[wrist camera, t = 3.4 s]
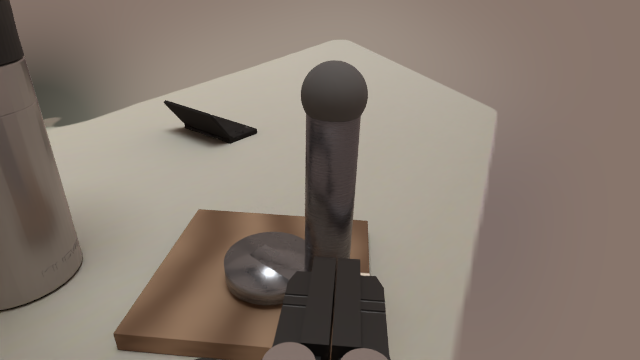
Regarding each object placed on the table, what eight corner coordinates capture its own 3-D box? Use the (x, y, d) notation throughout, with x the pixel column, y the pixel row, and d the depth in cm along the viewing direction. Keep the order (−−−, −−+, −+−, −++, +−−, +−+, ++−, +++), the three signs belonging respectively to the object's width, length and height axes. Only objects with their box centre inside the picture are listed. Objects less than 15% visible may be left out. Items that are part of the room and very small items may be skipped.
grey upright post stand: (206, 275, 31) (177, 46, 24) (271, 236, 36) (265, 36, 29) (311, 351, 25) (318, 77, 18) (373, 292, 30) (400, 57, 23)
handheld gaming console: (264, 120, 66) (230, 78, 58) (247, 157, 64) (210, 119, 56) (210, 118, 72) (174, 79, 64) (193, 152, 69) (152, 117, 61)
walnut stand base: (117, 349, 27) (112, 331, 27) (200, 221, 42) (198, 207, 41) (370, 372, 26) (372, 354, 26) (366, 233, 41) (367, 219, 40)
